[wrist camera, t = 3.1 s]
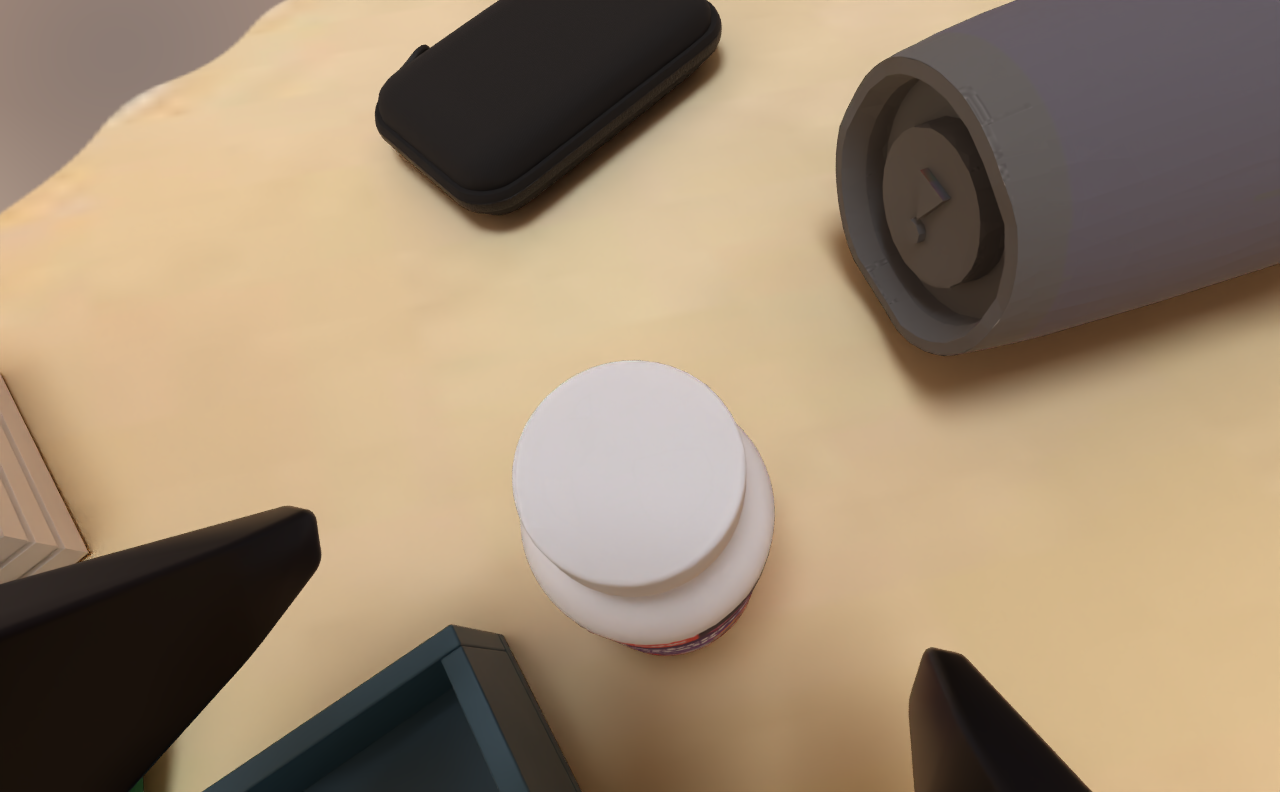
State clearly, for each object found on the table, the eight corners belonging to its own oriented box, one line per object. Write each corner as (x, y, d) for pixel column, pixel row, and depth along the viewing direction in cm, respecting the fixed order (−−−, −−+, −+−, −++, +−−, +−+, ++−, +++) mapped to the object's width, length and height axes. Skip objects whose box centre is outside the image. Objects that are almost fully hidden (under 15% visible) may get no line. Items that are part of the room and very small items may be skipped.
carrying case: (589, -25, 32) (364, 133, 29) (577, -90, 29) (327, 76, 26) (740, 56, 28) (498, 250, 25) (742, -10, 25) (470, 197, 22)
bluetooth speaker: (931, 436, 20) (1114, 228, 11) (808, 227, 24) (864, -51, 15) (1564, 213, 20) (2242, -160, 11) (1338, 48, 24) (1703, -323, 15)
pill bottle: (624, 690, 17) (530, 701, 9) (558, 523, 20) (431, 399, 11) (790, 605, 18) (859, 536, 9) (706, 452, 20) (697, 279, 11)
